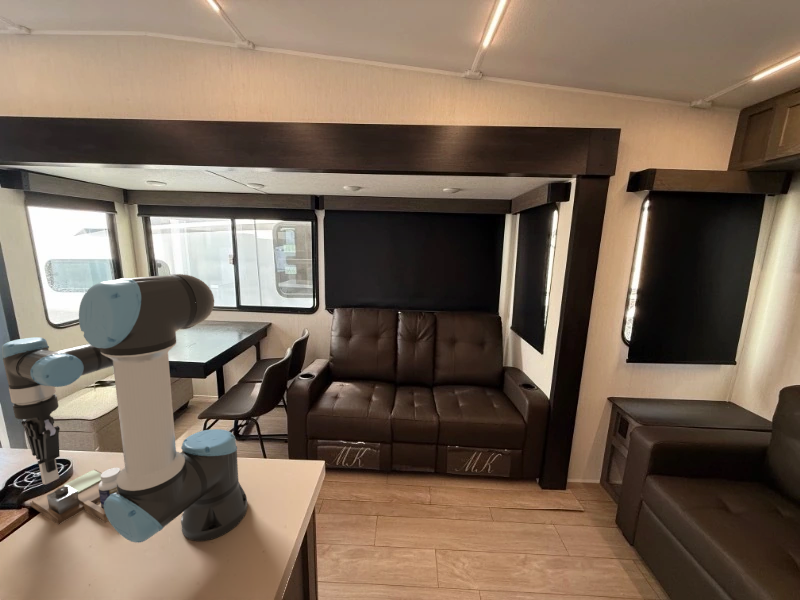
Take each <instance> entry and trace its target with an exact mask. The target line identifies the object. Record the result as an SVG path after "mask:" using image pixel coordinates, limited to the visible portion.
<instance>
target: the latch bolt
mask: <svg viewBox="0 0 800 600" xmlns="http://www.w3.org/2000/svg"><path fill="white" fill-rule="evenodd" d="M56 489H57V488H56ZM47 499H48V505H49V508H50V509H51V510H53V511H54V512H56V513H58V514H59V515H61V514H62V513H64V512H66V511H68V510H70V509H71V508H73V507H75V506H77V505H78V504H79V498H78V492H77V490H75V489H73V488H72V487H70V486H68V485H66V486H64V487H61V488H59V489H57V490H56V491H54V492H52V493H50V494H48V495H47Z"/></svg>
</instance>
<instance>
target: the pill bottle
mask: <svg viewBox="0 0 800 600" xmlns="http://www.w3.org/2000/svg"><path fill="white" fill-rule="evenodd" d="M120 471H121V468H120V467H112V468H108V469H106V470H104V471H103V472H101V473H102V474H101V482H100V483H99V486H98V487H99V495H100V502H99V503H100V507H101V508H103V509H104V502H105V500H106V499H107V498H108V497H109V496H110V494H113V493H115V492H117V482H116V479H117V476H118V474H119V473H120Z"/></svg>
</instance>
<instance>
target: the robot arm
mask: <svg viewBox="0 0 800 600" xmlns="http://www.w3.org/2000/svg"><path fill="white" fill-rule="evenodd" d="M214 307H215V297H214V293H213V292H212V290H211V288H210V287H209V285H207V283H205V282H204V281H203V280H202V279H199V278H197V277H196V276H193V275H189V274H182V273H177V274H176V273H175V274H167V275H153V276H141V277H140V276H139V277H138V276H137V277H125V278H124V277H122V278H118V279H113V280H106V281H101V282H98V283H95V284H93V285H92V286H90V287H89V288H88V289H87V291H86V292H85V293H84V294H83V296H82V299H81V301H80V304H79V310H78V323H79V328H80V331H81V332H82V333H83V338H84V339H85V341H86V342H87V343H85V344H81V345H80V344H79V345H77V346H72V347H68V348H63V349H60V350H59V349H58V350H55V351H53V350H49V349H50V346H49V345H48V342H47V340H46V338H44V337H39V336H38V337H25V338H19V339H14V340H11V341H8V342H5V343H4V344H2V345H1V356H2V357H1V360H2V361H3V366H4V370H5V375H6V379H7V384H8V392H9V396H10V402H11V403H12V404H13V405H12V408H13V409H12V410H13V414H14V418H15V419H16V420H21V425H22V427H23V429H24V431H25V434H26V435H25V436H26V438H27V441H28V445H29V448H30V451H31V454H32V456H33V457H35V459H36V460H37V464H38V466H39V467H38V468H39V471H40V477H41V481H42V484H43V485H48V484H50V483H52V482H54V481H56V480H58V479H60V475H59V469H58V465H57V460H56V459H57V458H60V454H61V453H60V437H59V434H60V431H61V428H60V426H58V425H57V426H54V424H55V419H54V417H53V416H51V414H52V413H53V412H55V411H56V410H57V409H58V408H59V401H58V395H57V394H56V393H57V392H56V388H59V387H60V388H62V387H68V386H69V385H72V384H73V383H74V382H76V381H77V380H79V378H81V376H85V375H88V374H92V373H95V372H97V371H101V370H104V369H107V368H108V369H109V368H111V367H113V374H114V383H115V392H116V400H117V402H116V403H117V409H118V418H119V425H120V426H119V427H120V434H121V435H120V436H121V445H122V453H123V461H124V467H123V468H122V469H120V473H119V474H118V476H117V479H116V482H117V492H115V493H113V494H110V496H109V497H108V498H107V499H106V500H105V502H104V511H105V514H106V516H107V518H108V521H109V523H110V525H111V526H112V527H113V528H114V530H115V531H116V532H117V533H118V534H119V535H120V536H122V537H123V538H124V539H126V540H127V541H129V542H132V543H135V544H136V543H138V544H139V543H143V542H145V541H147V540H148V539H150V538H151V537H153V536H155V534H158V533H159V532H161V531H162V530H163V529H164V528H165V527H166V526H168V525H169V524H170V523H171V522H172V521H174V520H175V519H177V517H179V516H180V515H181V514H182V515H181V521H180V524H181V525H180V526H181V531H182V535H183V536H184V537H185V538H186V539H188V540H191V541H194V542H195V541H196V542H197V541H198V542H203V541H210V540H213V539H216V538H218V537H219V538H220V537H221V536H223V535H225V534H226V533H228V532H230V531H232V530H233V529H234V528H235V527H237V526H238V525H239V524H240V523H241V521H242V520H243V519H244V518H245V516H246V514H247V511H248V497H247V495H246V492H245V491H244V489H243V487H242V485H241V483H240V481H239V467H238V466H239V465H238V445H237V442H236V436H235V435H234V433H232V432H231V431H230V430H226V429H220V428H215V429H214V428H213V429H205V430H201V431H197V432H195V433H193V434H191V435H189V436H187V437H186V438H185V439H184V440H183V442H182V444H181V447H180V448H181V452H179V451H177V448H176V436H175V435H176V434H175V423H174V413H173V412H174V410H173V409H174V408H173V399H172V397H173V396H172V386H171V385H172V384H171V373H170V372H171V371H170V362H169V361H170V359H169V351H170V350H172V349H173V347H175V346H176V345H177V333H176V332H177V331H179V330H187V329H191V328H193V327H195V326H196V325H198V324H200V323H202V322H204V321H205V320H206V319H208V318H209V316H210V315H211V314H212V312H213V310H214Z"/></svg>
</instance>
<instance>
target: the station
mask: <svg viewBox="0 0 800 600" xmlns="http://www.w3.org/2000/svg"><path fill="white" fill-rule="evenodd" d="M102 473H103V472H101V471H99V470H97V469H95V468H94V469H92V470H90V471H89V472H86V473H84V474H82V475H80V476H78V477H76V478H74V479H72V480H70V481H68V482H67V483H64V484H63V485H60V486H57V488H55V489H54V490H51V491H49V492H48V493H45V494H44V495H41V496H40V497H37V498H34V499H32V500H31V501H30V502H29V504H30V505H29V506H30V507H31V508H33V509H34V510H36V511H37V512H39V513H40V514H42V515H44V516H45V517H46V518H48V519H50V520H51V521H53V522H54V523H55V524H57V525H61V524H63V523H64V522H66V521H68V520H69V519H71V518H73V517H74V516H76V515H78V514H79V513H81V512H83V511H85V512H86V513H88V514H90V515H91V516H93V517H95V518H97V519H98V520H100V521H101V522H103V523H106V522H108V521H109V520H108V518H107V516H106V514H105V511H104V509H103V508H101V505H100V506H99V505H98V504H97V503H99V501H100V495H99V487H98V486H99V483H100V482H101V474H102ZM66 485H68V486H70V487H72V488H73V489H75V490H77V492H78V498H79V504H78V505H77V506H75V507H73V508H71V509H70V510H68V511H66V512H64V513H62V514H61V515H59V514H58V513H56V512H54V511H53V510H51V509H50V508H49V505H48V499H47V495H48V494H50V493H52V492H54V491H56V490H57V489H59V488H61V487H64V486H66Z"/></svg>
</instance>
